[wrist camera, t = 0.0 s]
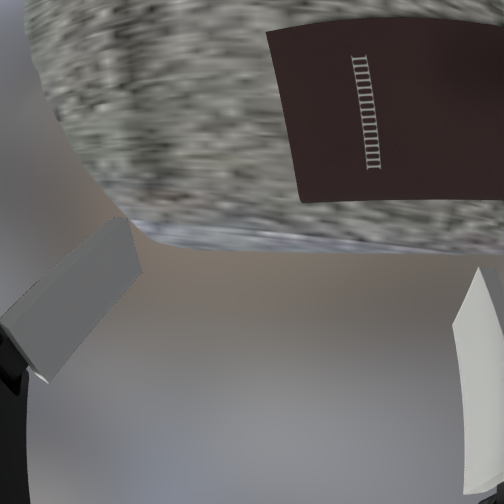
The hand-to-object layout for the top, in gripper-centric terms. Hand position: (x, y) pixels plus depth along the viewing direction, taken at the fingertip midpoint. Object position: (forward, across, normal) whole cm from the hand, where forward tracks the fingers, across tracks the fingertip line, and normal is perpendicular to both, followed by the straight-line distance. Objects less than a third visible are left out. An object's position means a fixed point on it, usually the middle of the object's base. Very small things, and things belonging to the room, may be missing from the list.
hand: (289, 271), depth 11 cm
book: (+29, +9, +3) cm, 30 cm away
